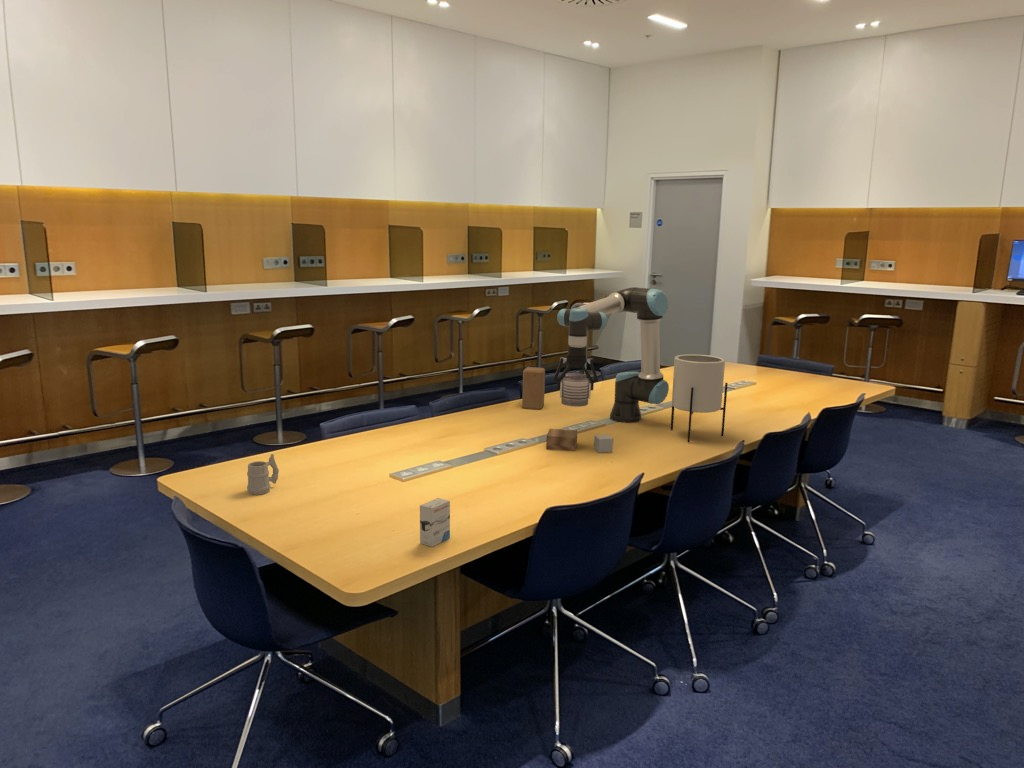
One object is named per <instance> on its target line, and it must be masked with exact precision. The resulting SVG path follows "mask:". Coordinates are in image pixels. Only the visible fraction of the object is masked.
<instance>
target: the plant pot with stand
mask: <svg viewBox="0 0 1024 768" xmlns="http://www.w3.org/2000/svg"><path fill="white" fill-rule="evenodd" d="M725 368H726V359H724V358H722V357H720V356H715V355H709V354H708V355H707V354H697V353H696V354H695V353H694V354H678V355H676V356H674V359H673V378H672V393H671V395H672V396H671V416H670V417H671V418H670V431H673V430H674V415H675V409H677V410H680V411H683V412H689V415H688V427H687V431H688V433H687V442H691V427H692V417H693V414H694V413H704V414H705V413H715V412H718V411H722V418H721V419H722V422H721V430H720V431H721V435H720V437H722V436H723V437H724V432H725V423H726V422H725V421H726V420H725V419H726V408H727V397H728V396H727V395H728V394H727V393H728V382H725V384H724V378H725ZM723 390H724V391H723ZM723 392H724V397H723ZM722 401H723V402H722ZM722 403H723V407H722Z"/></svg>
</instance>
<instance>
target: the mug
mask: <svg viewBox="0 0 1024 768" xmlns="http://www.w3.org/2000/svg"><path fill="white" fill-rule="evenodd" d="M274 456H275V454H274V453H271V454H270V457H269V458H268V461H262V460H261V461H253V462H249V463H247V473H246V475H247V486H246V490H247V492H248V494H249V495H252V496H257V495H259V496H260V495H265V494H268V493H269V492H270V491H271V484H270V482H271V483H272V484H274V485H275V484H277V481H278V480H279V468H278V465H277V463H276V460H275V457H274ZM269 466H270V467H271V468H272V475H271V476H269V474H270V471H269Z"/></svg>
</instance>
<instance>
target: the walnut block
mask: <svg viewBox="0 0 1024 768" xmlns="http://www.w3.org/2000/svg"><path fill="white" fill-rule="evenodd" d="M545 444H546V445H545V446H546V447H545V449H546V450H552V451H567V452H576V449H577V448H576V447H577V444H578V430H577V429H564V428H563V429H560V428H549V429H548V432H547V435H546V443H545Z"/></svg>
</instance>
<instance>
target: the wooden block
mask: <svg viewBox="0 0 1024 768" xmlns="http://www.w3.org/2000/svg"><path fill="white" fill-rule="evenodd" d="M545 385H546V369H545V368H544V367H531V366H527V367H526V368H525V369H523V371H522V396H521V397H522V399H521V400H522V401H521V407H522V408H523V409H526V410H527V409H528V410H541V409H542V408H543V407H544V406H545V388H546V387H545Z"/></svg>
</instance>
